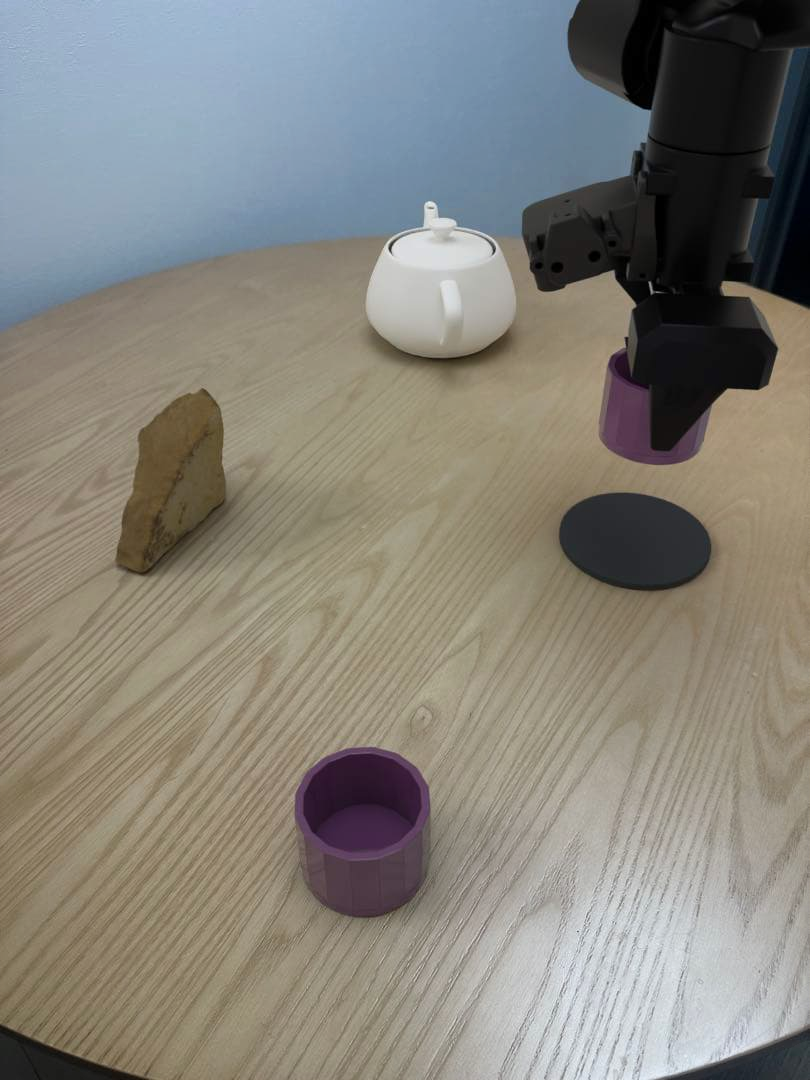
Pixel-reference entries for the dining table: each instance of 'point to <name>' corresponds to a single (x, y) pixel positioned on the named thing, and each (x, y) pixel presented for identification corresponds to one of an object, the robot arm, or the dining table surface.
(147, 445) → the rock
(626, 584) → the coaster
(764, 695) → the dining table surface
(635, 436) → the purple cup
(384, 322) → the teapot
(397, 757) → the purple faceted cup
